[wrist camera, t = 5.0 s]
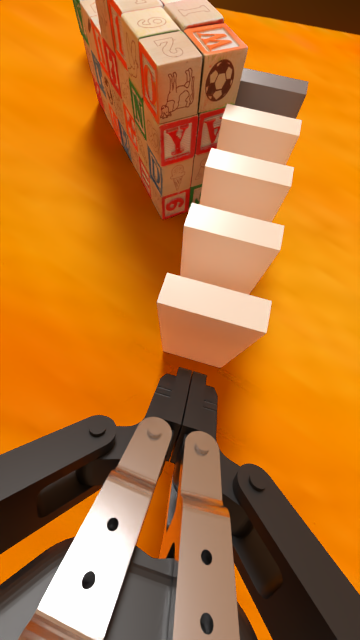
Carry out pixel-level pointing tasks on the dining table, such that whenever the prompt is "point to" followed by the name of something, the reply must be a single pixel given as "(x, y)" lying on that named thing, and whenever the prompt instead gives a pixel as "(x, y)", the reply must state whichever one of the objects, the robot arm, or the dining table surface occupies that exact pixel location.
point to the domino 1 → (271, 93)
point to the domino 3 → (244, 185)
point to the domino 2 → (258, 134)
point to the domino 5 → (208, 320)
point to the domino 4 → (227, 248)
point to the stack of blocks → (163, 87)
